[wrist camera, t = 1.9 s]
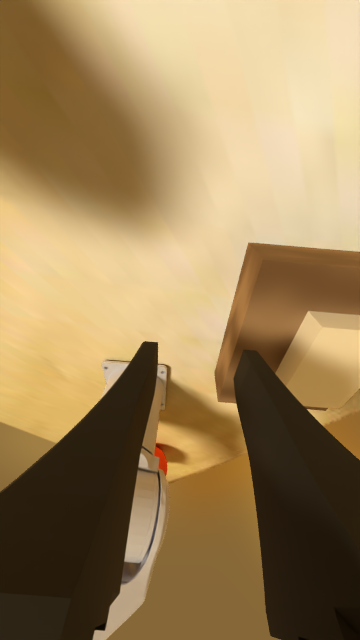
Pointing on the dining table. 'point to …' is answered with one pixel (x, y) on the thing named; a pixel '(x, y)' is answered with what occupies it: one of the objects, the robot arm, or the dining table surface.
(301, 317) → the brown wooden block
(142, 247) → the dining table surface
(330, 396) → the tile
